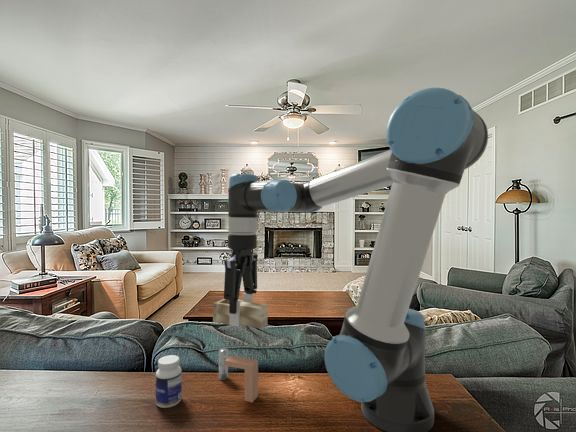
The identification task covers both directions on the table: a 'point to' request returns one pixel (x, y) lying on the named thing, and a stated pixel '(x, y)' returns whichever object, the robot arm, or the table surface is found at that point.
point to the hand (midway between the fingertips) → (241, 321)
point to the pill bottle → (168, 382)
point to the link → (242, 313)
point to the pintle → (223, 369)
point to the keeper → (246, 374)
